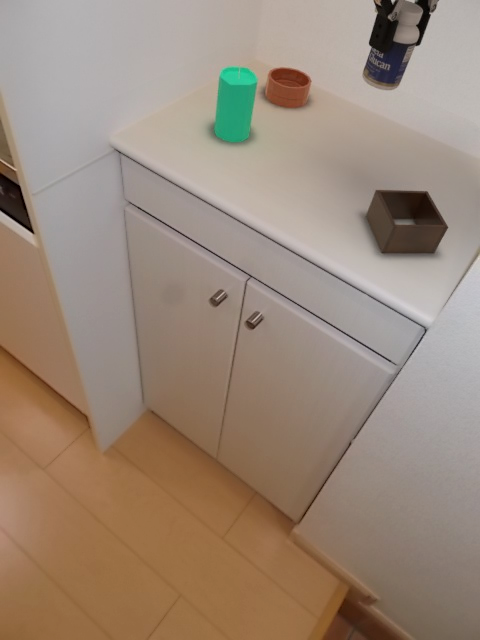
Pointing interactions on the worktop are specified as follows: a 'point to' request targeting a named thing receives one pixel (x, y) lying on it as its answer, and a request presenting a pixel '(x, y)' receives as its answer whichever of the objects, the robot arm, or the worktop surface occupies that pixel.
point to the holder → (405, 207)
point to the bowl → (287, 87)
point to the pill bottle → (394, 51)
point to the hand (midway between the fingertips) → (394, 44)
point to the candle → (235, 103)
